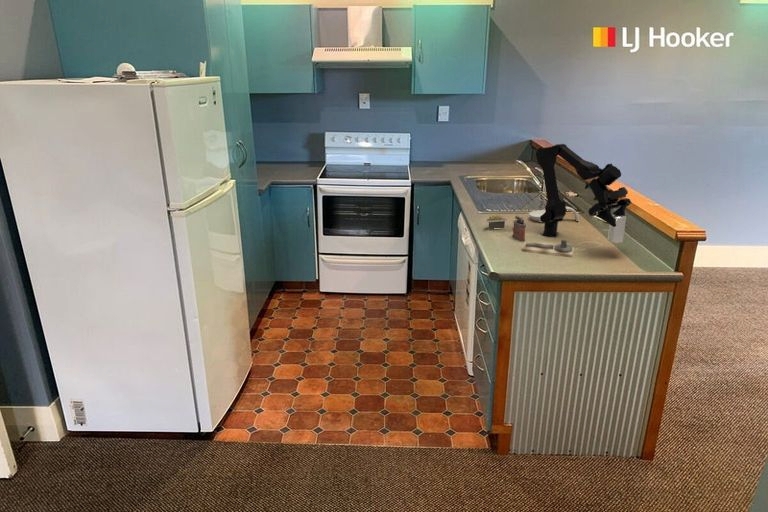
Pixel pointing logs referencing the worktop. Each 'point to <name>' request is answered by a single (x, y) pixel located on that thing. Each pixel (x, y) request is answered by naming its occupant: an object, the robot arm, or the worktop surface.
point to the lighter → (519, 229)
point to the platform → (496, 222)
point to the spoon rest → (536, 214)
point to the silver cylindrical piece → (617, 229)
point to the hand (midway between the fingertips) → (620, 225)
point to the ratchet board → (549, 248)
